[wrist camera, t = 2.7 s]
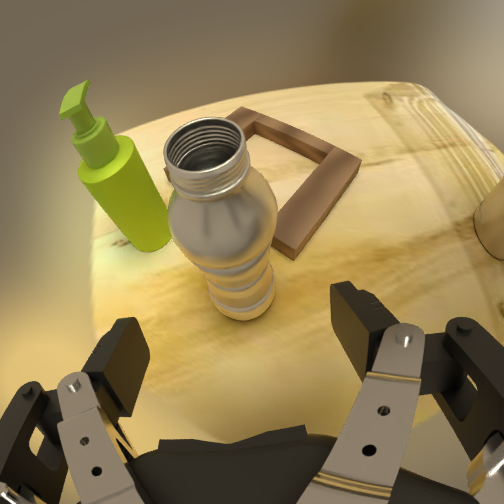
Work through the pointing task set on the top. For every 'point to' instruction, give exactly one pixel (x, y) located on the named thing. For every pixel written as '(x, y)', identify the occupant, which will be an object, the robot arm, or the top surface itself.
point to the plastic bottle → (222, 214)
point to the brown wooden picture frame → (312, 190)
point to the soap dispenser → (116, 175)
